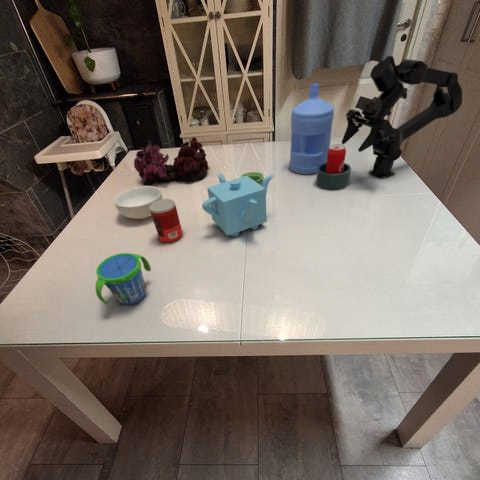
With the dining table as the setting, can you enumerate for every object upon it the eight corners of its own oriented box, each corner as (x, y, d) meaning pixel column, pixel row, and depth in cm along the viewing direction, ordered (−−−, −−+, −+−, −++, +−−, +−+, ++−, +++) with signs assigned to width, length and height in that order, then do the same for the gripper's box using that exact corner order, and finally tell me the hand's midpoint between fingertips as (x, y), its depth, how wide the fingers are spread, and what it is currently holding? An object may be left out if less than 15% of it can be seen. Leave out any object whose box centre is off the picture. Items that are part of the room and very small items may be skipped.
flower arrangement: (207, 163, 138) (201, 126, 127) (212, 181, 125) (206, 141, 114) (140, 175, 136) (128, 138, 125) (138, 193, 123) (124, 154, 112)
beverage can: (344, 181, 113) (350, 146, 104) (333, 186, 110) (338, 151, 102) (331, 176, 116) (336, 142, 107) (320, 181, 114) (324, 147, 105)
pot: (335, 173, 119) (337, 159, 115) (355, 184, 111) (358, 169, 107) (309, 181, 116) (311, 166, 112) (328, 193, 109) (330, 177, 105)
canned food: (187, 231, 99) (179, 199, 91) (176, 244, 94) (166, 212, 86) (166, 229, 101) (157, 197, 93) (155, 242, 96) (144, 210, 88)
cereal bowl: (175, 211, 110) (170, 192, 104) (137, 231, 102) (130, 211, 97) (148, 199, 118) (143, 181, 113) (112, 216, 111) (104, 198, 106)
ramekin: (268, 187, 116) (268, 175, 113) (250, 195, 113) (250, 183, 109) (254, 180, 121) (253, 169, 118) (236, 188, 118) (235, 177, 115)
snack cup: (119, 322, 73) (101, 291, 66) (96, 304, 78) (77, 274, 71) (167, 287, 81) (156, 256, 73) (143, 273, 86) (131, 243, 78)
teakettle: (204, 238, 95) (195, 193, 84) (223, 209, 107) (217, 166, 96) (261, 244, 91) (259, 197, 80) (274, 213, 102) (274, 168, 91)
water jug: (300, 158, 133) (304, 78, 112) (333, 163, 126) (344, 79, 105) (282, 171, 125) (284, 88, 104) (317, 177, 118) (325, 90, 97)
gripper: (355, 79, 97) (322, 125, 103) (397, 88, 85) (357, 139, 91) (370, 103, 105) (338, 145, 111) (410, 115, 93) (372, 161, 99)
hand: (350, 147), depth 103 cm, fingers open, 9 cm apart
